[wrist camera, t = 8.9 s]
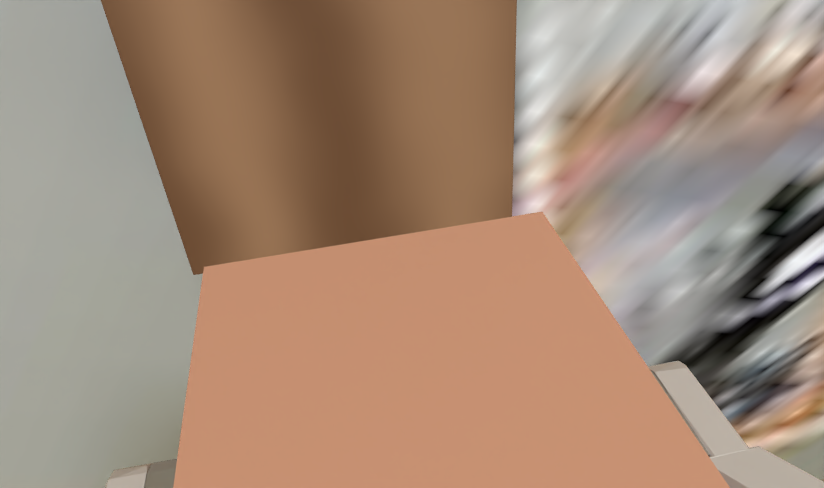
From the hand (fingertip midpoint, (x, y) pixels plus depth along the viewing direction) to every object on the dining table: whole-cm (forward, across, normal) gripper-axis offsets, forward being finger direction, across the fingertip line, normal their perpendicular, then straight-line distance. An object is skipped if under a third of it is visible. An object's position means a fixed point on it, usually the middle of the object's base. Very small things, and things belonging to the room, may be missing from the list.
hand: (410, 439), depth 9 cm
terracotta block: (+2, 0, 0) cm, 2 cm away
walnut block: (+20, 0, 0) cm, 20 cm away
